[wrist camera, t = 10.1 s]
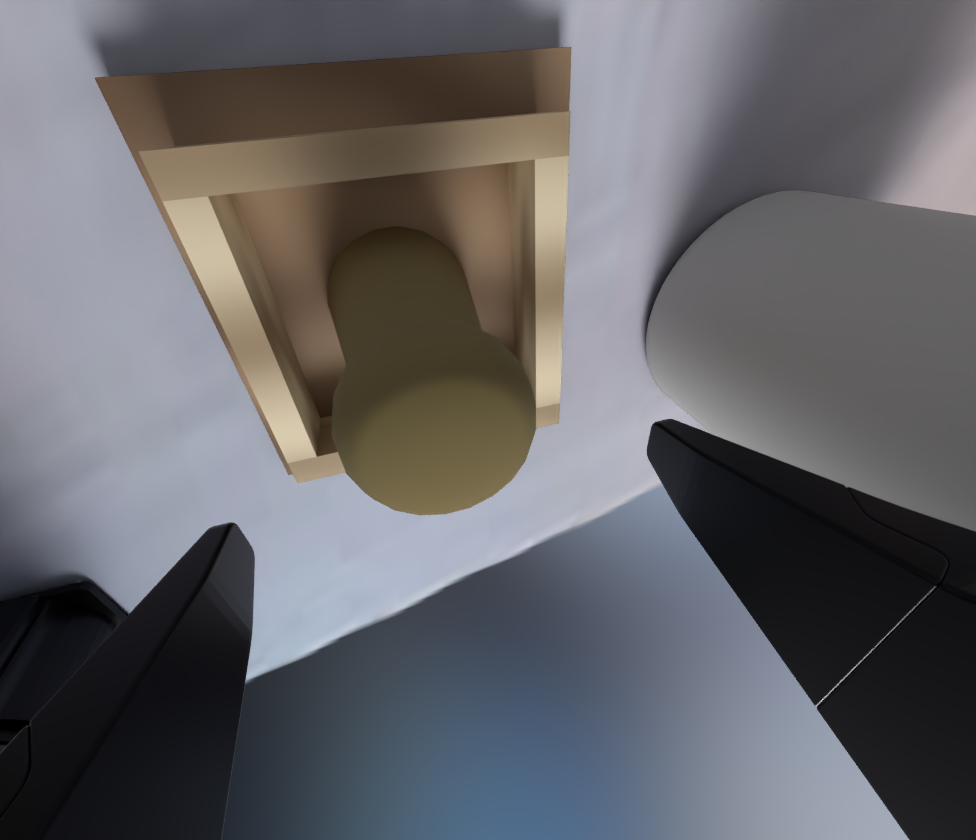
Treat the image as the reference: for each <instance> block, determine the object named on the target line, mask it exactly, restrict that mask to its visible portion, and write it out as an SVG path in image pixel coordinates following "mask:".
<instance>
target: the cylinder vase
mask: <svg viewBox="0 0 976 840" xmlns="http://www.w3.org/2000/svg"><path fill="white" fill-rule="evenodd" d="M646 356H647V362H648V367H649V370H650V373H651V375H652V377H653V379H654V381H655V383H656V385H657V386H658V387H659V389H660V390H661V391H662V392H663V393H664V394H665V395H666V396H667V397H669V398H670V399H671V400H672V401H673V402H674V403H676V404H677V405H678V406H679V407H680V408H681V409H683V410H684V411H685V412H686V413H687V414H688V415H690V416H691V417H692V418H693V419H694V420H695V421H697V422H698V423H699V424H700V425H701V426H702V427H704V428H705V429H706V430H707V431H708V432H709V433H711V434H712V435H715V436H718V437H720V438H723V439H725V440H728V441H731V442H733V443H736V444H739V445H741V446H744V447H746V448H749V449H752V450H754V451H757V452H759V453H762V454H765V455H767V456H770V457H772V458H775V459H778V460H780V461H783V462H785V463H788V464H791V465H793V466H796V467H799V468H801V469H804V470H806V471H809V472H812V473H814V474H817V475H819V476H822V477H825V478H827V479H830V480H832V481H835V482H838V483H840V484H843V485H845V487H851V488H854V489H856V490H859V491H861V492H864V493H866V494H869V495H872V496H874V497H877V498H880V499H882V500H885V501H888V502H891V503H893V504H896V505H899V506H901V507H904V508H907V509H910V510H913V511H916V512H919V513H922V514H925V515H928V516H931V517H934V518H937V519H940V520H943V521H946V522H949V523H952V524H955V525H958V526H961V527H964V528H967V529H970V530H973V531H976V216H973V215H966V214H959V213H952V212H946V211H939V210H932V209H925V208H919V207H912V206H905V205H898V204H892V203H885V202H878V201H871V200H865V199H858V198H851V197H844V196H837V195H831V194H824V193H817V192H810V191H802V190H788V191H780V192H775V193H771V194H767V195H764V196H761V197H758V198H756V199H753V200H751V201H749V202H747V203H744V204H743V205H741V206H739V207H737V208H735V209H734V210H732V211H730V212H729V213H727V214H726V215H724V216H723V217H721V218H720V219H719V220H717V221H716V222H715V223H714V224H712V225H711V226H710V227H709V228H708V229H706V230H705V231H704V232H703V233H702V234H701V235H700V236H699V237H698V238H697V239H696V240H695V241H694V242H693V243H692V244H691V245H690V246H689V248H688V249H687V250H686V251H685V252H684V253H683V255H682V256H681V257H680V259H679V260H678V261H677V263H676V264H675V266H674V267H673V268H672V270H671V272H670V273H669V275H668V276H667V278H666V280H665V282H664V283H663V285H662V287H661V289H660V291H659V293H658V296H657V298H656V300H655V303H654V306H653V309H652V312H651V315H650V319H649V323H648V328H647V335H646Z"/></svg>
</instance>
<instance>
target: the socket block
mask: <svg viewBox="0 0 976 840" xmlns="http://www.w3.org/2000/svg"><path fill="white" fill-rule="evenodd" d="M570 69H571V47H561V48H546V49H530V50H515V51H499V52H484V53H468V54H453V55H438V56H422V57H407V58H391V59H376V60H360V61H345V62H329V63H314V64H298V65H283V66H267V67H252V68H237V69H221V70H206V71H190V72H175V73H159V74H144V75H128V76H113V77H97V78H95V80H96V82H97V84H98V86H99V88H100V90H101V92H102V94H103V96H104V98H105V100H106V102H107V104H108V106H109V108H110V110H111V112H112V115H113V117H114V119H115V121H116V123H117V125H118V127H119V129H120V131H121V133H122V135H123V137H124V139H125V141H126V143H127V145H128V147H129V149H130V151H131V153H132V156H133V158H134V160H135V162H136V164H137V166H138V168H139V170H140V172H141V174H142V176H143V178H144V180H145V182H146V184H147V186H148V188H149V190H150V192H151V194H152V196H153V199H154V201H155V203H156V205H157V207H158V209H159V211H160V213H161V215H162V217H163V219H164V221H165V223H166V225H167V227H168V229H169V231H170V233H171V235H172V237H173V240H174V242H175V244H176V246H177V248H178V250H179V252H180V254H181V256H182V258H183V260H184V262H185V264H186V266H187V268H188V270H189V272H190V274H191V276H192V278H193V280H194V283H195V285H196V287H197V289H198V291H199V293H200V295H201V297H202V299H203V301H204V303H205V305H206V307H207V309H208V311H209V313H210V315H211V317H212V319H213V321H214V323H215V326H216V328H217V330H218V332H219V334H220V336H221V338H222V340H223V342H224V344H225V346H226V348H227V350H228V352H229V354H230V356H231V358H232V360H233V362H234V364H235V367H236V369H237V371H238V373H239V375H240V377H241V379H242V381H243V383H244V385H245V387H246V389H247V391H248V393H249V395H250V397H251V399H252V401H253V403H254V405H255V407H256V410H257V412H258V414H259V416H260V418H261V420H262V422H263V424H264V426H265V428H266V430H267V432H268V434H269V436H270V438H271V440H272V442H273V444H274V446H275V448H276V451H277V453H278V455H279V457H280V459H281V461H282V463H283V465H284V467H285V469H286V471H287V473H288V475H291V474H293V476H294V478H295V480H296V482H297V483H301V482H305V481H310V480H314V479H318V478H323V477H327V476H332V475H336V474H340V473H345V472H346V471H345V469H344V466H343V464H342V461H341V459H340V456H339V454H338V451H337V449H336V446H335V443H334V441H333V438H332V436H331V435H332V407H333V395H334V392H335V390H336V388H337V385H338V383H339V381H340V379H341V376H342V374H343V372H344V370H345V367H346V363H345V360H344V356H343V353H342V350H341V346H340V343H339V340H338V336H337V333H336V330H335V326H334V323H333V320H332V316H331V313H330V310H329V306H328V303H327V302H328V279H329V276H330V274H331V271H332V269H333V266H334V263H335V261H336V258H337V257H338V256H339V255H340V254H341V253H342V252H343V251H344V249H345V248H346V247H347V246H348V245H349V244H350V243H351V242H352V241H353V240H355V239H357V238H358V237H360V236H362V235H364V234H366V233H368V232H370V231H372V230H373V229H380V228H387V227H394V226H400V227H405V228H411V229H416V230H421V231H423V232H425V233H427V234H428V235H430V236H432V237H434V238H435V239H437V240H439V241H441V242H442V243H443V244H444V245H445V246H446V247H447V248H448V249H449V250H450V252H451V253H452V254H453V255H454V256H455V257H456V258H457V259H458V261H459V264H460V266H461V268H462V270H463V273H464V275H465V277H466V279H467V283H468V286H469V289H470V292H471V295H472V299H473V302H474V305H475V308H476V312H477V315H478V318H479V321H480V325H481V328H482V331H484V332H486V333H489V334H491V335H493V336H495V337H496V338H497V339H498V340H499V341H500V342H501V343H502V344H503V345H504V346H505V347H506V348H507V349H508V350H509V351H510V352H511V353H512V354H513V355H514V356H515V357H516V358H517V360H518V361H519V362H520V364H521V365H522V366H523V368H524V370H525V373H526V375H527V378H528V380H529V382H530V385H531V387H532V390H533V393H534V398H535V402H536V428H540V427H545V426H549V425H553V424H558V423H559V414H560V386H561V358H562V330H563V303H564V275H565V247H566V220H567V192H568V164H569V136H570V111H569V98H570Z"/></svg>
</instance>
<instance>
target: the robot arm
mask: <svg viewBox="0 0 976 840" xmlns="http://www.w3.org/2000/svg"><path fill="white" fill-rule="evenodd" d="M647 456H648V459H649V461H650V463H651V464H652V466H653V468H654V470H655V472H656V473H657V475H658V477H659V479H660V481H661V482H662V484H663V486H664V488H665V489H666V491H667V493H668V495H669V496H670V498H671V500H672V502H673V504H674V505H675V507H676V509H677V510H678V512H679V514H680V515H681V517H682V518H683V520H684V521H685V522H686V524H687V525H688V527H689V528H690V530H691V531H692V533H693V534H694V535H695V537H696V538H697V540H698V541H699V542H700V544H701V545H702V547H703V548H704V550H705V551H706V552H707V554H708V555H709V557H710V558H711V559H712V561H713V562H714V564H715V565H716V566H717V568H718V569H719V571H720V572H721V574H722V575H723V576H724V578H725V579H726V580H727V582H728V583H729V585H730V586H731V588H732V589H733V590H734V592H735V593H736V595H737V596H738V598H739V599H740V600H741V602H742V603H743V605H744V606H745V607H746V609H747V610H748V612H749V613H750V615H751V616H752V617H753V619H754V620H755V621H756V623H757V624H758V626H759V627H760V629H761V630H762V632H763V633H764V634H765V636H766V637H767V639H768V640H769V641H770V643H771V644H772V646H773V647H774V648H775V650H776V651H777V653H778V654H779V656H780V657H781V658H782V660H783V661H784V663H785V664H786V665H787V667H788V668H789V670H790V671H791V673H792V674H793V675H794V677H795V678H796V680H797V681H798V682H799V684H800V685H801V687H802V688H803V689H804V691H805V692H806V694H807V695H808V697H809V698H810V699H811V701H812V702H813V704H814V705H815V706H817V710H818V711H819V713H820V714H821V715H822V717H823V718H824V720H825V721H826V722H827V724H828V725H829V727H830V728H831V729H832V731H833V732H834V734H835V735H836V737H837V738H838V739H839V741H840V742H841V744H842V745H843V746H844V748H845V749H846V751H847V752H848V754H849V755H850V756H851V758H852V759H853V761H854V762H855V763H856V765H857V766H858V768H859V769H860V770H861V772H862V773H863V775H864V776H865V777H866V779H867V780H868V782H869V783H870V785H871V786H872V787H873V789H874V790H875V792H876V793H877V795H878V796H879V797H880V798H881V800H882V801H883V803H884V804H885V806H886V807H887V809H888V810H889V811H890V813H891V814H892V816H893V817H894V819H895V820H896V821H897V823H898V824H899V826H900V827H901V828H902V830H903V831H904V833H905V834H906V835H907V837H908V838H909V840H976V531H973V530H970V529H967V528H964V527H961V526H958V525H955V524H952V523H949V522H946V521H943V520H940V519H937V518H934V517H931V516H928V515H925V514H922V513H919V512H916V511H913V510H910V509H907V508H904V507H901V506H899V505H896V504H893V503H891V502H888V501H885V500H882V499H880V498H877V497H874V496H872V495H869V494H866V493H864V492H861V491H859V490H856V489H854V488H851V487H845V485H843V484H840V483H838V482H835V481H832V480H830V479H827V478H825V477H822V476H819V475H817V474H814V473H812V472H809V471H806V470H804V469H801V468H799V467H796V466H793V465H791V464H788V463H785V462H783V461H780V460H778V459H775V458H772V457H770V456H767V455H765V454H762V453H759V452H757V451H754V450H752V449H749V448H746V447H744V446H741V445H739V444H736V443H733V442H731V441H728V440H725V439H723V438H720V437H718V436H715V435H712V434H710V433H707V432H705V431H702V430H699V429H697V428H694V427H692V426H689V425H686V424H684V423H681V422H678V421H676V420H673V419H666V420H662V421H658V422H655V423H654V424H653V425H652V427H651V431H650V436H649V441H648V446H647ZM254 567H255V556H254V551H253V549H252V547H251V545H250V543H249V542H248V540H247V539H246V537H245V536H244V534H243V533H242V531H241V530H240V528H239V527H238V526H237V524H235V523H226V524H222V525H217V526H213V527H211V528H209V529H208V530H207V531H206V532H205V533H204V534H203V535H202V536H201V537H200V538H199V540H198V541H197V542H196V543H195V544H194V545H193V546H192V547H191V548H190V549H189V550H188V551H187V552H186V554H185V555H184V556H183V557H182V558H181V559H180V560H179V561H178V562H177V563H176V564H175V565H174V566H173V568H172V569H171V570H170V571H169V572H168V573H167V574H166V575H165V576H164V577H163V578H162V579H161V580H160V582H159V583H158V584H157V585H156V586H155V587H154V588H153V589H152V590H151V591H150V592H149V593H148V594H147V596H146V597H145V598H144V599H143V600H142V601H141V602H140V603H139V604H138V605H137V606H136V607H135V608H134V610H133V611H132V612H131V613H130V614H129V615H128V616H127V615H126V614H125V613H124V612H122V611H121V610H120V609H119V608H118V607H117V606H116V605H115V604H114V603H113V602H111V601H110V600H109V599H108V598H107V597H106V596H105V595H104V594H103V593H101V592H100V591H99V590H98V589H97V588H96V587H95V586H94V585H92V584H90V583H84V582H81V583H76V584H72V585H68V586H64V587H60V588H56V589H52V590H47V591H43V592H39V593H35V594H31V595H27V596H23V597H19V598H15V599H11V600H7V601H3V602H0V840H221V837H222V831H223V825H224V818H225V812H226V805H227V799H228V791H229V785H230V778H231V772H232V765H233V759H234V752H235V745H236V739H237V731H238V726H239V719H240V713H241V706H242V699H243V693H244V686H245V680H246V673H247V666H248V660H249V653H250V646H251V638H252V627H253V600H254Z"/></svg>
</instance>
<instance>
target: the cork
mask: <svg viewBox="0 0 976 840" xmlns="http://www.w3.org/2000/svg"><path fill="white" fill-rule="evenodd" d="M327 303H328V306H329V310H330V313H331V316H332V320H333V323H334V326H335V330H336V333H337V336H338V340H339V343H340V346H341V350H342V353H343V356H344V360H345V363H346V367H345V370H344V372H343V374H342V376H341V379H340V381H339V383H338V385H337V388H336V390H335V392H334V395H333V407H332V435H331V436H332V438H333V441H334V443H335V446H336V449H337V451H338V454H339V456H340V459H341V461H342V464H343V466H344V469H345V471H346V474H347V475H348V476H349V477H350V478H351V479H352V480H353V481H354V482H355V483H356V484H357V485H358V486H359V487H360V488H361V489H362V490H363V491H364V492H365V493H366V494H367V495H369V496H370V497H371V498H373V499H374V500H376V501H378V502H380V503H382V504H384V505H386V506H388V507H390V508H392V509H393V510H396V511H401V512H406V513H411V514H416V515H437V514H448V513H451V512H455V511H459V510H463V509H467V508H470V507H472V506H474V505H476V504H478V503H480V502H482V501H484V500H486V499H488V498H490V497H492V496H493V495H494V494H496V493H497V492H498V491H499V490H500V489H502V488H503V487H504V486H505V485H506V484H508V483H509V482H510V481H511V480H512V479H513V477H514V476H515V475H516V473H517V472H518V471H519V469H520V468H521V466H522V465H523V464H524V462H525V460H526V458H527V455H528V452H529V449H530V446H531V443H532V440H533V437H534V434H535V430H536V402H535V398H534V393H533V390H532V387H531V385H530V382H529V380H528V378H527V375H526V373H525V370H524V368H523V366H522V365H521V364H520V362H519V361H518V360H517V358H516V357H515V356H514V355H513V354H512V353H511V352H510V351H509V350H508V349H507V348H506V347H505V346H504V345H503V344H502V343H501V342H500V341H499V340H498V339H497V338H496V337H495V336H493V335H491V334H489V333H486V332H484V331H482V328H481V325H480V321H479V318H478V315H477V312H476V308H475V305H474V302H473V299H472V295H471V292H470V289H469V286H468V283H467V279H466V277H465V275H464V273H463V270H462V268H461V266H460V264H459V261H458V259H457V258H456V257H455V256H454V255H453V254H452V253H451V252H450V250H449V249H448V248H447V247H446V246H445V245H444V244H443V243H442V242H441V241H439V240H437V239H435V238H434V237H432V236H430V235H428V234H427V233H425V232H423V231H421V230H416V229H411V228H405V227H400V226H394V227H387V228H380V229H373V230H372V231H370V232H368V233H366V234H364V235H362V236H360V237H358V238H357V239H355V240H353V241H352V242H351V243H350V244H349V245H348V246H347V247H346V248H345V249H344V251H343V252H342V253H341V254H340V255H339V256H338V257H337V258H336V261H335V263H334V266H333V269H332V271H331V274H330V276H329V279H328V302H327Z"/></svg>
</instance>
